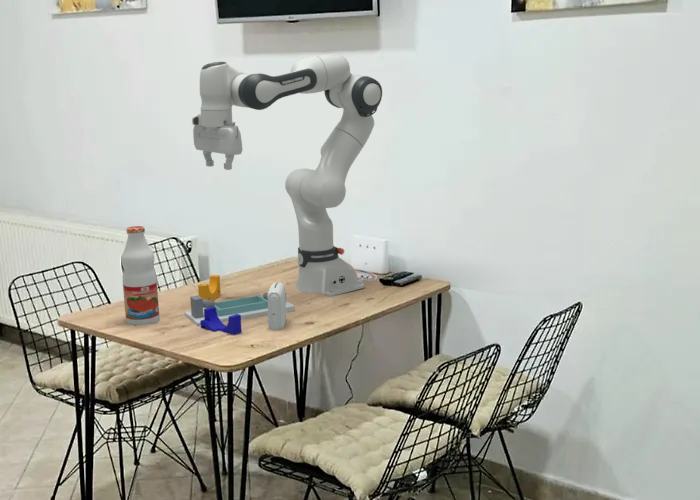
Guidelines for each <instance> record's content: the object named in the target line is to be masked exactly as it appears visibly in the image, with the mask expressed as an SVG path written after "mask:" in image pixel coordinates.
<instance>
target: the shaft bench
mask: <svg viewBox="0 0 700 500" xmlns="http://www.w3.org/2000/svg"><path fill="white" fill-rule="evenodd" d="M285 295H286V296H287V292H285ZM267 297H268V292H265V293H263V294H262V296H261V295H260V294H257V295H251V296H245V297H239V298H233V299H227V300H222V301H215V300H213V301H210V300H205V299H202V298H201V297H200V296H199V294H198V295H192V296H190V310H188V311H183V313H184V317H186V318H187V319H188V320H190V321H191V322H192V323H194V324H195V325H196V326H197V327H201V323H200V321H201V320H204V319H205V318H204V309H206V308H209V307H216V312H217V315H218V317H219V319H220V321H221V322H222V323H228V320H229V316H232V315H235V314H239V315H241V320H244V319H245V320H247V319H253V318H258V317H259V318H260V317H266V316H268V298H267ZM295 310H296V307H295V305H294V304H292V303H291V302H289V301H288V300H286V313H290V312H295Z"/></svg>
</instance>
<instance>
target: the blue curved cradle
mask: <svg viewBox="0 0 700 500" xmlns="http://www.w3.org/2000/svg"><path fill="white" fill-rule="evenodd" d="M203 309H204V308H203ZM204 318H205V319H204V320H201V321H200V323H201V326H200V328H201V329H204V328H205V330H207V331H210V332H214V333H216V332H223V333H225V334H231V335H232V336H234V335H238V334H241V333H242V319H241V315H239V314H235V315H232V316H229V320H228V321H227V324H224V322H221V321H220V319H219V317H218V315H217V312H216V307H209V308H206V309H204Z"/></svg>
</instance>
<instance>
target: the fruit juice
mask: <svg viewBox="0 0 700 500" xmlns="http://www.w3.org/2000/svg"><path fill="white" fill-rule="evenodd" d="M145 231H146V230H145V226H141V225H133V226H128V227H127V228H126V234H127V240H126V243H125V246H124V250H123V252H122V254H121V259H120V261H121V264H122V267H123V272H122V279H121V280H122V290H123V291H122V292H123V303H124V314H125V322H126V324H128V325H132V326H146V325H147V326H148V325H151V324H154V323H155V324H156V323H157V322H159V321H160V305H159V295H158V294H159V293H158V277H157V273H156V269H155V267H154V264H155V254H154V252H153V250H152V249H151V248H150V245H149V243H148V241H147V239H146V237H145Z"/></svg>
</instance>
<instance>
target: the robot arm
mask: <svg viewBox="0 0 700 500" xmlns="http://www.w3.org/2000/svg"><path fill="white" fill-rule="evenodd" d="M321 92H324V96H325V99H326V101H327V102H328V103H329V104H330V105H331V106H333V107H335V108H337V109H342V110H343V111H342V116H341V118H340V121H338V123H337V124H336V125H335V127H334V129H333V130H332V132H330V134H329V135H328V137H327V139H326V140H325V142H324V143H323V145H322V146H321V147H320V160H319V164H318V165H317V167H316V169H310V168H298V169H295V170H291V172H290V173H289V174H288V175H287V177H286V179H285V183H284V185H285V186H284V187H285V190H286V192H287V194H288V195H289V197H290V199H291V203H292V205H293V208H294V212H295V217H296V221H297V226H298V246H299V247H298V248H297V261H298V276H297V281H296V282H297V283H296V286H295V289H296V290H297V291H299V292H302V293H309V294H323V295H324V296H326V297H334V296H338V295H341V294H346V293H350V292H353V291H358V290H361V289H364V288H365V285H364V282H363V280H360V279H358V277H357V272H356V269H355V268H354V267H353V266H352V265H351V264H350V263H348V262H347V261H345V260H344V259H343V258H341V257H340V256H339V255H344V254H345V249H344V248H342V247H337V246H334V224H333V221H332V219H331V218H330V217H329V214H328V212H327V209H331V208H332V209H333V208H336V207H338V206H339V205H341V204H342V203H343V202H344V200H345V197H346V192H347V189H346V188H347V187H346V184H345V183H346V179H347V176H348V173H349V171H350V169H351V166H352V165H353V163H354V162H355V160H356V159H357V157H358V156H359V155H360V153H361V151H362V150H363V148H364V147H365V146H366V143H367V142H368V140H369V138H370V136H371V134H372V131H373V129H374V126H375V119H374V116H373V115H375V113H376V112H377V110H378V107H379V106H380V104H381V101H382V98H383V87H382V85H381V84H380V82H379V81H378V80H377V79H375V78H373V77H372V76H367V75H360V74H352V73H351V67H350V64H349V61H348V59H347V58H346V57H345V56H344V55H342V54H340V53H339V54H338V53H324V54H323V53H322V54H315V55H311V56H306V57H303V58H301V59H298V60H296V61H295V62H294V63H293V64H292V66H291V69H290V72H286V73H283V74H278V75H274V76H272V75H269V74H265V73H261V72H260V73H245V72H242V71H239V70H238V69H236V68H234V67H233V66H230V64H228V62H226V61H215V62H214V61H213V62H209V63H206V64H205V65H203V66H202V67H201V69H200V75H199V96H200V99H201V106H200V113H199V114H197V115H195V116H193V117H192V119H191V124H192V125H193V129H192V130H193V131H192V132H193V145H194V147H195V149H196V150H197V151H202V155H203V158H204V160H205V166H206V167H214V165H215V162H214V159H213V158H212V154H213V153H217V154H222V155H224V156H225V157H224V158H225V163H223V169H224V170H225V171H229V170H230V171H231V170H232V169H233V163H234V162H233V161H234V159H235V156H237V155H241V154H243V153H242V152H243V141H242V135H241V131H240V129H239V126H238V125H237V123H236V122H234V121H233V110H232V109H233V106H235V107H241V108H247V109H248V108H249V109H253V110H257V111H262V110H265V109H267V108H269V107H271V106H272V105H273V104H274V103H275V102H277V101H278V100H280V99H283V98H286V97H289V96H292V95H296V94H297V95H298V94H302V95H304V94H315V93H316V94H317V93H321Z"/></svg>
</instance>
